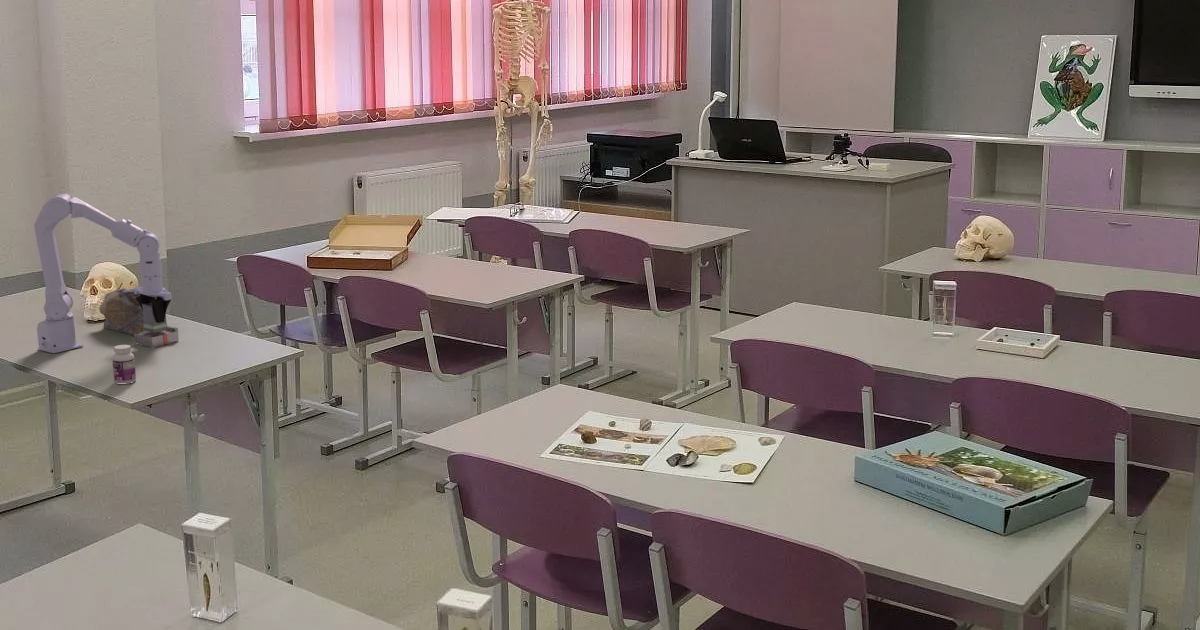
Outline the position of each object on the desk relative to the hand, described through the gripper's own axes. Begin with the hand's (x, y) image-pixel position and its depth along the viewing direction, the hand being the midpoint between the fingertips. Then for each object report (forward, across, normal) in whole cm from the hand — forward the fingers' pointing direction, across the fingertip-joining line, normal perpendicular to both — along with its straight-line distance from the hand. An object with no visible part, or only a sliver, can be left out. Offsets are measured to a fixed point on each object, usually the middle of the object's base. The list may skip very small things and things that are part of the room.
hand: (155, 321), depth 352 cm
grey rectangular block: (+3, 0, 0) cm, 3 cm away
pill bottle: (+7, -27, +30) cm, 41 cm away
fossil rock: (+7, +19, -6) cm, 21 cm away
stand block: (+6, 0, 0) cm, 6 cm away
